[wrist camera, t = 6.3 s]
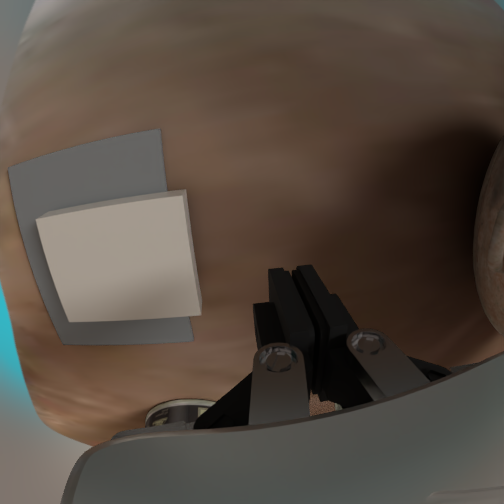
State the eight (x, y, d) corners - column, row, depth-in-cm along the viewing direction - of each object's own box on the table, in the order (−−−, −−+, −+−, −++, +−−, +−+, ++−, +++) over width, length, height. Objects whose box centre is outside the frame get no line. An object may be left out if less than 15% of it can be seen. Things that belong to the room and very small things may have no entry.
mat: (160, 128, 15) (159, 128, 14) (193, 337, 20) (193, 341, 20) (11, 166, 14) (7, 167, 13) (64, 341, 19) (62, 344, 19)
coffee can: (147, 444, 26) (138, 554, 13) (144, 389, 22) (123, 541, 9) (238, 453, 28) (252, 561, 15) (260, 403, 24) (288, 547, 11)
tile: (182, 195, 14) (35, 219, 13) (201, 315, 17) (69, 322, 16) (186, 188, 16) (50, 210, 15) (202, 298, 19) (79, 306, 18)
